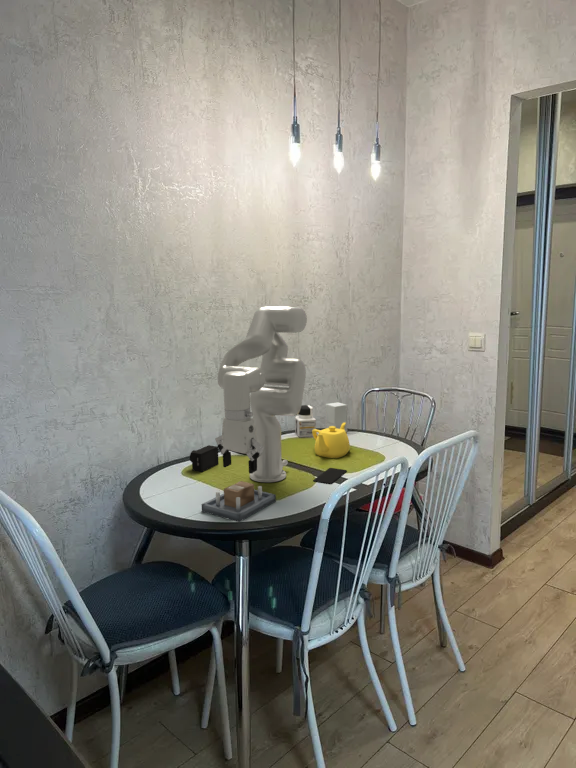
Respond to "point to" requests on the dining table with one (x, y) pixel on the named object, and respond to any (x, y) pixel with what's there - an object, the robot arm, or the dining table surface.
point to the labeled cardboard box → (239, 494)
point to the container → (305, 422)
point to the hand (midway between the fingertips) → (240, 468)
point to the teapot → (331, 442)
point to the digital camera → (204, 458)
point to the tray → (238, 505)
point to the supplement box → (336, 415)
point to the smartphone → (330, 476)
